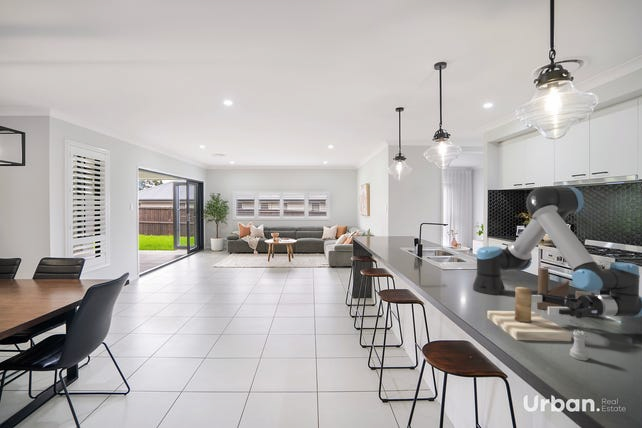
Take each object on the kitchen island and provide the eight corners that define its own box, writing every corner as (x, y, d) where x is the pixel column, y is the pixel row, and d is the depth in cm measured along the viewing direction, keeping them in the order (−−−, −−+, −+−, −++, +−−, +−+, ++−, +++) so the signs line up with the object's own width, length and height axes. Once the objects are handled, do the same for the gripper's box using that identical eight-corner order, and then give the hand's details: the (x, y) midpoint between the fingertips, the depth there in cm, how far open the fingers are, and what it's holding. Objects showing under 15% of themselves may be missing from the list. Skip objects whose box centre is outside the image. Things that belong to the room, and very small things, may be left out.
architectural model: (594, 311, 132) (594, 294, 131) (574, 308, 135) (574, 292, 135) (591, 308, 135) (591, 292, 134) (571, 306, 138) (572, 290, 138)
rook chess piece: (565, 354, 93) (566, 328, 93) (578, 353, 93) (579, 328, 93) (579, 361, 89) (579, 334, 88) (592, 360, 89) (593, 334, 89)
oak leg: (511, 325, 115) (512, 286, 114) (525, 325, 115) (526, 286, 114) (519, 331, 110) (520, 290, 109) (534, 331, 110) (535, 290, 109)
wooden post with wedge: (568, 313, 127) (569, 271, 127) (537, 308, 133) (538, 268, 133) (567, 311, 130) (568, 270, 130) (536, 306, 136) (537, 267, 136)
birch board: (487, 317, 123) (487, 310, 123) (532, 318, 122) (533, 311, 122) (516, 339, 103) (516, 331, 103) (571, 341, 102) (571, 332, 102)
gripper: (628, 329, 98) (559, 328, 99) (569, 304, 123) (515, 303, 124) (628, 306, 97) (560, 305, 99) (570, 286, 122) (516, 285, 124)
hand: (535, 304), depth 111 cm, fingers open, 13 cm apart
